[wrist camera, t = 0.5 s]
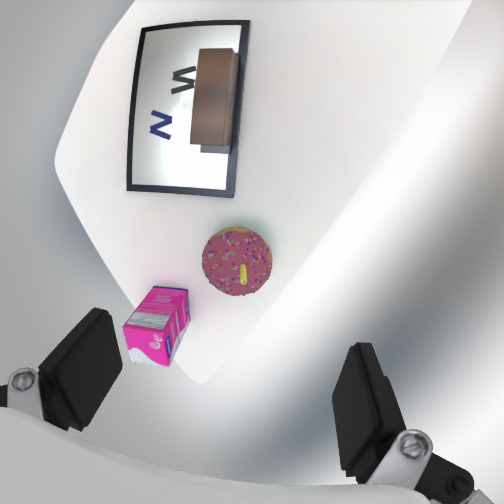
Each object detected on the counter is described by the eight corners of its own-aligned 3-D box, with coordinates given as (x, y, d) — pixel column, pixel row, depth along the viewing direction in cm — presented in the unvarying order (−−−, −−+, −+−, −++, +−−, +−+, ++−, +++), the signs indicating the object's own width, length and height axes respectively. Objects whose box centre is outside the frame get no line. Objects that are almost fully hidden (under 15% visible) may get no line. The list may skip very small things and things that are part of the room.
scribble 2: (174, 67, 30) (173, 66, 29) (197, 65, 29) (196, 65, 29) (170, 94, 31) (170, 93, 31) (193, 93, 31) (193, 93, 31)
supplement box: (192, 320, 44) (169, 369, 33) (157, 316, 44) (128, 361, 33) (189, 288, 41) (162, 334, 31) (153, 284, 42) (119, 326, 31)
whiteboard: (143, 29, 28) (140, 27, 27) (250, 22, 28) (249, 19, 27) (129, 189, 37) (125, 191, 36) (234, 197, 36) (232, 198, 35)
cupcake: (252, 206, 36) (240, 234, 25) (285, 260, 39) (287, 307, 27) (198, 239, 39) (167, 277, 27) (232, 288, 41) (216, 340, 30)
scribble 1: (151, 110, 32) (150, 109, 32) (173, 109, 32) (172, 109, 31) (149, 140, 33) (148, 140, 33) (171, 140, 33) (170, 140, 33)
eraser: (211, 54, 29) (200, 40, 24) (240, 54, 29) (233, 40, 23) (201, 152, 33) (188, 153, 28) (230, 154, 33) (222, 155, 28)
